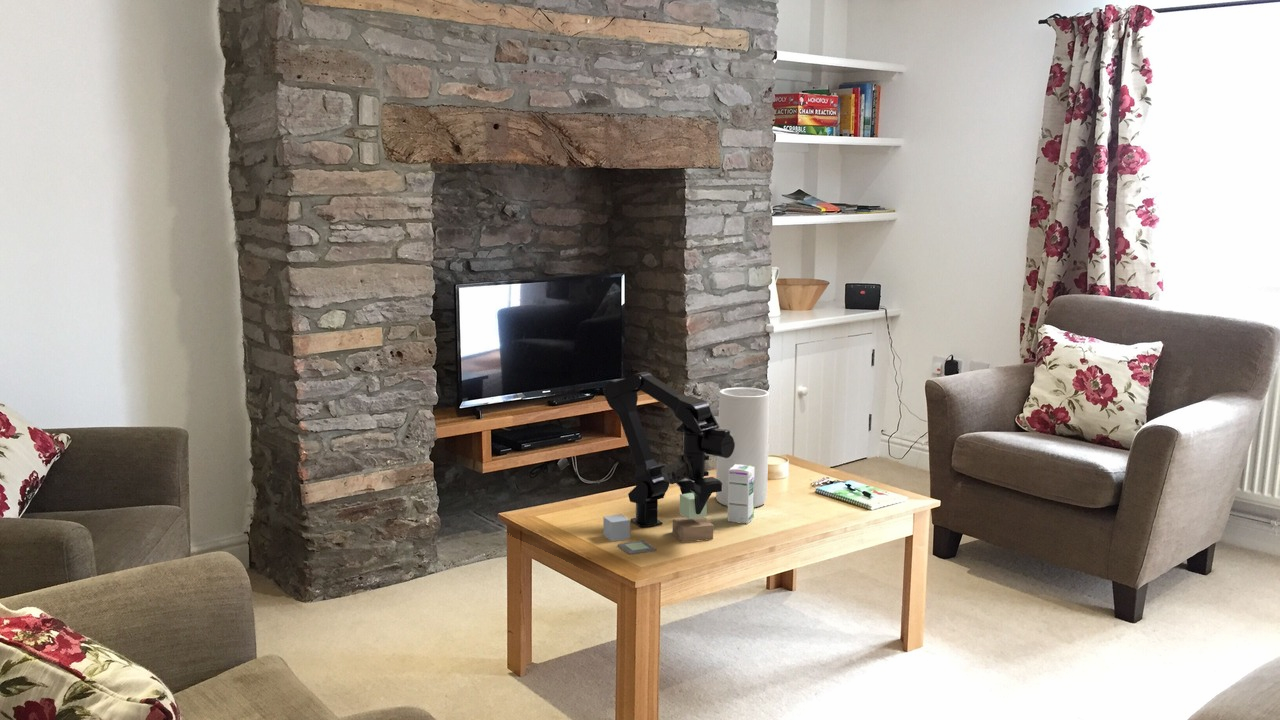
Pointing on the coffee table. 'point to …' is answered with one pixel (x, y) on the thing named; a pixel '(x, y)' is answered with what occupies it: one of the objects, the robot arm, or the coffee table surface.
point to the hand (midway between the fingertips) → (692, 511)
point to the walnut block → (692, 529)
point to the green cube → (690, 507)
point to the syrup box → (741, 493)
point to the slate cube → (616, 527)
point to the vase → (745, 437)
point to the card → (636, 547)
